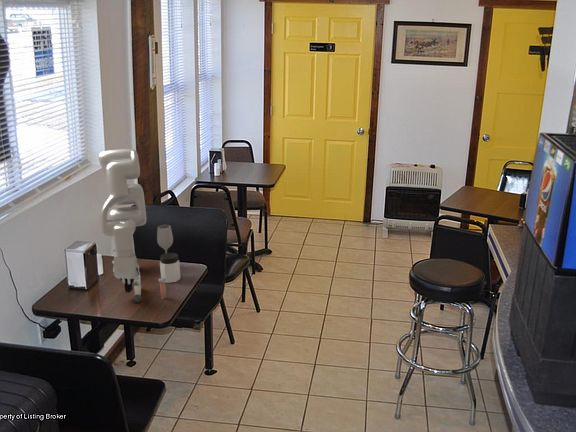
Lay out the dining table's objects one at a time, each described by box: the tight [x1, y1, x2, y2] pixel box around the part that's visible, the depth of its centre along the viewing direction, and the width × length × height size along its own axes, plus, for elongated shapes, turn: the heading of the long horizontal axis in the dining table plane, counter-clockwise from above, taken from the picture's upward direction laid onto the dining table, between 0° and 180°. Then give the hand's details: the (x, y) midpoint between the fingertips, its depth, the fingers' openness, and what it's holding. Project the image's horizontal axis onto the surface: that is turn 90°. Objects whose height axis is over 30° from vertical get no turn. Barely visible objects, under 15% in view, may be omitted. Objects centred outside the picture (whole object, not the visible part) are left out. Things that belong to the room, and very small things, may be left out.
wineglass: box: [156, 224, 174, 253], centre depth 311 cm, size 8×8×21 cm
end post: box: [157, 277, 168, 300], centre depth 278 cm, size 3×3×9 cm
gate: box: [133, 271, 142, 303], centre depth 281 cm, size 16×3×8 cm, turn 11°
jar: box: [159, 252, 181, 284], centre depth 297 cm, size 9×8×12 cm
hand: (129, 291), depth 279 cm, fingers closed
